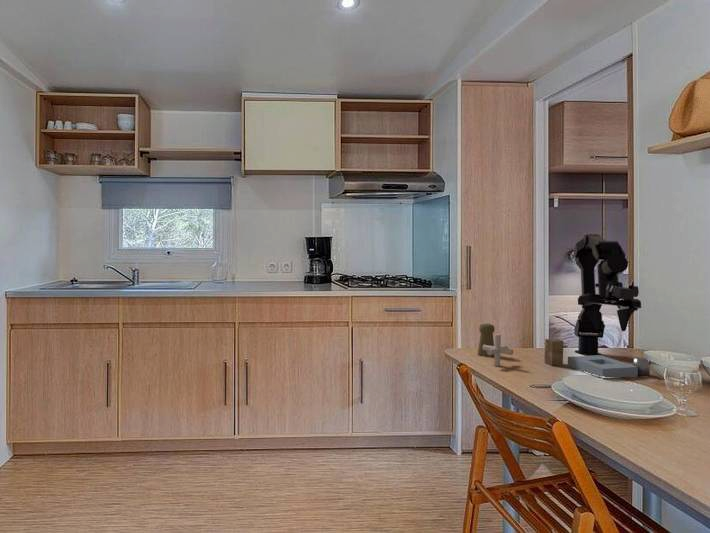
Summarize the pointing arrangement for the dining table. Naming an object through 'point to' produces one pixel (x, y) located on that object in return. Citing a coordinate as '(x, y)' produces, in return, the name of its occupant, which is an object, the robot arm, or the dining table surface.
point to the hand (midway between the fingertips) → (610, 329)
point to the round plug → (642, 366)
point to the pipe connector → (497, 350)
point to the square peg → (553, 352)
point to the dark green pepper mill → (486, 338)
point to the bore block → (602, 366)
